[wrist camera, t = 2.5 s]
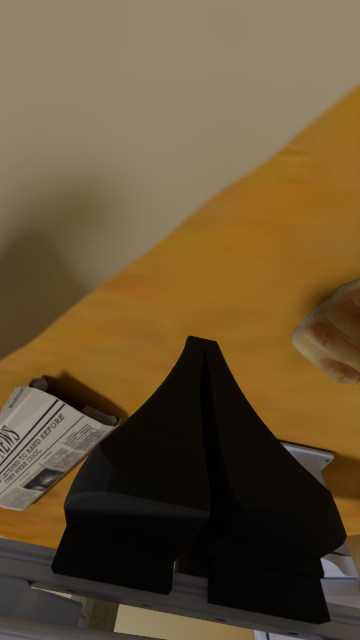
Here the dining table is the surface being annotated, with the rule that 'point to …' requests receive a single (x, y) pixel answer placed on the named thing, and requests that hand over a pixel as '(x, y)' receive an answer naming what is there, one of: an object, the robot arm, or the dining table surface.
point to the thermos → (98, 613)
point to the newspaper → (43, 442)
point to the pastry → (333, 335)
